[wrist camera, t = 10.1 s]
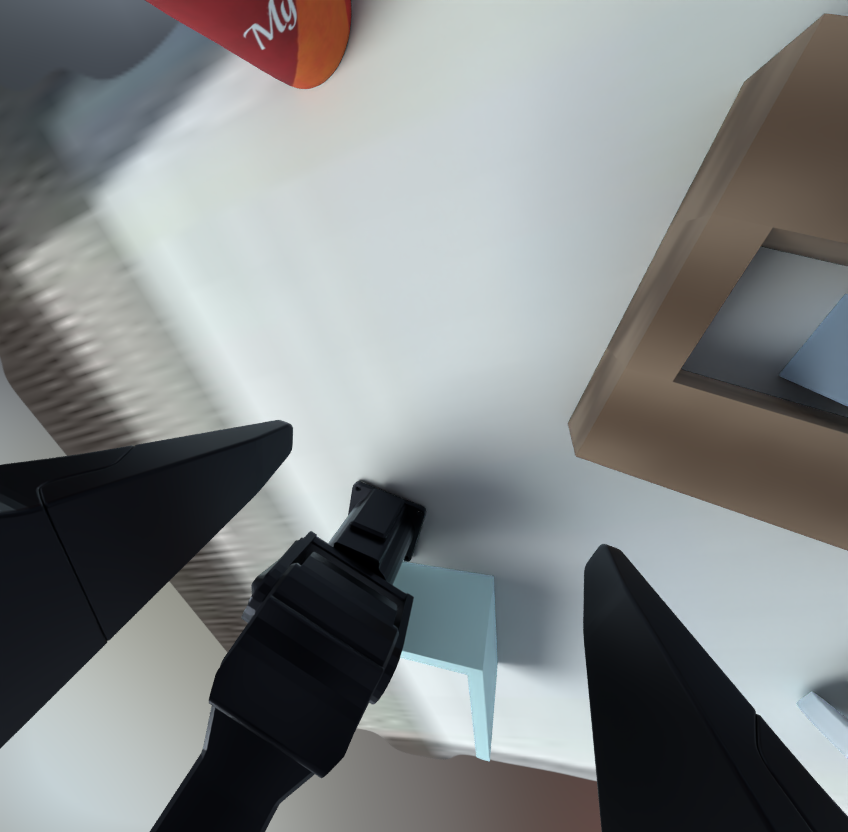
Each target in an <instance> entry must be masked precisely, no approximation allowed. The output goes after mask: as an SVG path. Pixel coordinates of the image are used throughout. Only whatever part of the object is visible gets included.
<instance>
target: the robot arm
mask: <svg viewBox="0 0 848 832" xmlns="http://www.w3.org/2000/svg"><path fill="white" fill-rule="evenodd" d="M292 444H293V427H292V425H291V424H289V423H287V422H284V421H281V420H275V421H269V422H263V423H258V424H252V425H246V426H241V427H235V428H229V429H223V430H218V431H212V432H206V433H201V434H195V435H189V436H184V437H178V438H172V439H167V440H161V441H155V442H150V443H144V444H138V445H135V446H126V447H121V448H115V449H109V450H103V451H97V452H91V453H85V454H78V455H70V456H63V457H56V458H49V459H41V460H34V461H26V462H18V463H11V464H3V465H0V748H1V747H2V746H3V745H4V744H5V743H6V742H7V741H8V740H9V739H10V738H11V737H12V736H14V734H15V733H17V731H19V730H20V729H21V728H22V727H23V726H24V725H25V724H26V723H27V722H28V721H29V720H30V719H31V718H32V717H33V716H34V715H35V714H36V713H37V712H38V711H39V710H40V709H41V708H42V707H43V706H44V705H45V704H46V703H47V702H48V701H49V700H50V699H51V698H52V697H53V696H54V695H55V694H56V693H57V692H58V691H59V690H60V689H61V688H62V687H63V686H64V685H65V684H66V683H67V682H68V681H69V680H70V679H71V678H72V677H73V676H74V675H75V674H76V673H77V672H78V671H79V670H80V669H81V668H82V667H83V666H84V665H85V664H86V663H87V662H88V661H89V660H90V659H91V658H92V657H93V656H94V655H95V654H96V653H97V652H98V651H99V650H100V649H101V648H102V647H103V646H104V645H105V644H106V643H107V641H108V640H110V639H111V638H112V637H113V636H114V635H115V634H116V633H117V632H118V631H119V630H120V629H121V628H122V627H123V626H124V625H125V624H126V623H127V622H128V621H129V620H130V619H131V618H132V617H133V616H134V615H135V614H136V613H137V612H138V611H139V610H140V609H141V608H142V607H143V606H144V605H145V604H146V603H147V602H148V601H149V600H150V599H151V598H152V597H153V596H154V595H155V594H156V593H157V592H158V591H159V590H160V589H161V588H162V587H163V586H165V585H166V583H167V582H169V581H170V580H171V579H172V578H173V577H174V576H175V575H176V574H177V573H178V572H179V571H180V570H181V569H182V568H183V567H184V566H185V565H186V564H187V563H188V562H189V561H190V560H191V559H192V558H193V557H194V556H195V555H196V554H197V553H198V552H199V551H200V550H201V549H202V548H203V547H204V546H205V545H206V544H207V543H208V542H209V541H210V540H211V539H212V538H213V537H214V536H215V535H216V534H217V533H218V532H219V531H220V530H221V529H222V528H223V527H224V526H225V525H226V524H227V523H228V522H229V521H230V520H231V519H232V518H233V517H234V516H235V515H236V514H237V513H238V512H239V511H240V510H241V509H242V508H243V507H244V506H245V505H246V504H247V503H248V502H249V501H250V500H251V499H252V498H253V497H254V496H255V495H256V494H257V493H258V492H259V491H260V490H261V488H262V487H263V486H264V485H265V484H266V482H267V481H268V480H269V479H270V478H271V476H272V475H273V474H274V473H275V471H276V470H277V469H278V468H279V467H280V465H281V464H282V463H283V462H284V461H285V459H286V458H287V457H288V456H289V454H290V453H291V450H292ZM358 487H360V488H358ZM418 511H420V512H421V513H420V512H418ZM425 515H426V509H425V508H424V507H423V506H421V505H418V504H416V503H413V502H411V501H408V500H406V499H403V498H401V497H398V496H396V495H393V494H391V493H388V492H386V491H383V490H381V489H378V488H376V487H373V486H370V485H368V484H365V483H363V482H360V481H357V482H356V483H355V484H354V485H353V488H352V494H351V501H350V507H349V513H348V517H347V518H346V519H345V521H344V522H343V524H342V525H341V526H340V528H339V529H338V531H337V532H336V533H335V535H334V536H333V537H332V539H331V540H330V542H329V543H326V542H325V541H323V540H322V539H320V538H319V537H317V535H316V534H315V533H313V532H312V531H310V532H309V533H308V534H307V535H306V536H305V537H304V538H301V539H300V540H298V541H295V542H294V543H293V545H292V546H291V547H290V548H289V549H288V550H287V552H286V553H285V554H284V555H283V556H282V557H281V558H280V559H279V560H278V561H277V562H275V563H274V564H273V565H271V566H270V567H269V568H268V569H266V570H265V571H264V572H262V573H261V574H260V575H259V576H258V577H257V578H256V579H255V580H254V582H253V583H252V596H251V598H250V600H249V602H248V605H247V607H246V609H245V611H244V613H243V615H242V619H243V620H245V621H246V622H248V624H247V626H246V627H245V629H244V630H243V631H242V633H241V634H240V636H239V637H238V639H237V640H236V641H235V643H234V644H233V646H232V647H231V649H230V650H229V652H228V653H227V654H226V656H225V657H224V659H223V661H222V663H221V666H220V668H219V669H218V671H217V673H216V675H215V679H214V682H213V686H212V689H211V693H210V697H209V704H211V705H212V708H211V712H210V718H209V722H208V727H207V731H206V737H205V741H204V746H203V750H202V753H201V754H200V756H199V757H198V759H197V760H196V762H195V764H194V765H193V767H192V768H191V770H190V771H189V773H188V774H187V776H186V777H185V779H184V780H183V782H182V783H181V785H180V787H179V788H178V789H177V791H176V792H175V794H174V796H173V797H172V799H171V800H170V802H169V803H168V805H167V806H166V808H165V809H164V811H163V812H162V814H161V816H160V817H159V818H158V820H157V821H156V823H155V825H154V826H153V828H152V829H151V831H150V832H265V831H266V829H267V827H268V825H269V823H270V821H271V819H272V817H273V815H274V813H275V811H276V810H277V808H278V806H279V804H280V803H281V802H282V801H283V800H285V799H286V798H287V797H288V796H289V795H290V794H292V793H293V792H294V791H295V790H296V789H298V788H299V787H300V786H301V785H302V784H303V783H305V782H306V781H307V780H308V779H310V778H311V777H312V776H313V775H314V774H316V775H318V776H319V777H320V778H323V777H324V776H326V775H327V774H328V773H329V772H330V771H331V770H332V769H333V768H334V767H335V766H336V765H337V764H338V763H339V761H340V760H341V759H342V758H343V757H344V755H345V753H346V751H347V749H348V746H349V744H350V742H351V739H352V737H353V734H354V732H355V730H356V728H357V726H358V724H359V722H360V720H361V718H362V716H363V714H364V712H365V710H366V708H367V706H368V703H369V702H370V703H371V704H375V703H376V702H377V701H378V700H379V699H380V697H381V696H382V694H383V693H384V691H385V689H386V688H387V686H388V684H389V682H390V680H391V678H392V676H393V674H394V672H395V669H396V667H397V664H398V662H399V659H400V656H401V653H402V650H403V646H404V642H405V637H406V632H407V628H408V623H409V618H410V614H411V609H412V604H413V599H414V597H413V596H412V595H410V594H409V593H405V592H403V591H401V590H400V589H398V588H397V587H395V586H394V585H393V583H394V581H395V578H396V576H397V574H398V571H399V569H400V567H401V564H402V562H403V560H404V561H410V560H411V558H412V556H413V553H414V549H415V546H416V543H417V540H418V537H419V534H420V531H421V527H422V524H423V521H424V518H425ZM406 555H407V556H406ZM583 633H584V646H585V657H586V668H587V679H588V689H589V700H590V711H591V721H592V732H593V743H594V754H595V764H596V775H597V786H598V797H599V807H600V818H601V827H602V832H848V816H847V815H846V814H845V813H844V812H843V811H842V810H841V808H840V807H839V806H838V805H837V804H836V803H835V802H834V801H833V800H832V798H831V797H830V796H829V795H828V794H827V793H826V792H825V791H824V789H823V788H822V787H821V786H820V785H819V784H818V783H817V782H816V781H815V779H814V778H813V777H812V776H811V775H810V774H809V772H808V771H807V770H806V769H805V768H804V767H803V765H802V764H801V763H800V762H799V761H798V760H797V758H796V757H795V756H794V755H793V754H792V753H791V751H790V750H789V749H788V748H787V747H786V746H785V745H784V743H783V742H782V741H781V740H780V739H779V737H778V736H777V735H776V734H775V733H774V732H773V730H772V729H771V728H770V727H769V726H768V724H767V723H766V722H765V721H764V720H763V718H762V717H761V716H760V715H758V714H756V711H755V709H754V708H753V707H752V705H751V704H750V703H749V702H748V701H747V700H746V698H745V697H744V696H743V695H742V694H741V692H740V691H739V690H738V689H737V688H736V686H735V685H734V684H733V683H732V682H731V681H730V679H729V678H728V677H727V676H726V675H725V673H724V672H723V671H722V670H721V669H720V667H719V666H718V665H717V664H716V663H715V662H714V660H713V659H712V658H711V657H710V656H709V654H708V653H707V652H706V651H705V650H704V649H703V647H702V646H701V645H700V644H699V643H698V641H697V640H696V639H695V638H694V637H693V635H692V634H691V633H690V632H689V631H688V630H687V628H686V627H685V626H684V625H683V624H682V622H681V621H680V620H679V619H678V618H677V616H676V615H675V614H674V613H673V612H672V611H671V609H670V608H669V607H668V606H667V605H666V603H665V602H664V601H663V600H662V599H661V597H660V596H659V595H658V594H657V593H656V592H655V590H654V589H653V588H652V587H651V586H650V584H649V583H648V582H647V581H646V580H645V578H644V577H643V576H642V575H641V574H640V573H639V571H638V570H637V569H636V568H635V567H634V565H633V564H632V563H631V562H630V561H629V559H628V558H627V557H626V556H625V555H624V554H623V552H622V551H621V550H619V549H617V548H615V547H612V546H609V545H607V544H602V545H600V546H599V547H598V549H597V550H596V551H595V553H594V554H593V555H592V557H591V558H590V560H589V561H588V562H587V564H586V566H585V570H584V611H583Z"/></svg>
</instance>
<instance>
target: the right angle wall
mask: <svg viewBox="0 0 848 832" xmlns="http://www.w3.org/2000/svg"><path fill="white" fill-rule="evenodd" d="M393 585H394V586H395V587H397V588H398V589H400V590H401V591H403V592H405V593H409V594H410V595H412V596H413V597H414V599H413V604H412V609H411V614H410V618H409V623H408V628H407V632H406V637H405V642H404V646H403V650H402V653H401V656H400V658H404V659H408V660H412V661H416V662H419V663H423V664H427V665H431V666H435V667H439V668H443V669H447V670H451V671H454V672H458V673H462V674H466V675H468V684H469V693H470V702H471V711H472V720H473V729H474V739H475V748H476V757H477V758H480V759H483V760H486V761H489V762H490V752H491V739H492V727H493V714H494V702H495V690H496V677H497V665H498V658H497V637H496V615H495V594H494V576H491V575H485V574H478V573H472V572H466V571H460V570H453V569H447V568H441V567H434V566H428V565H422V564H415V563H409V562H402V564H401V567H400V569H399V571H398V574H397V576H396V578H395V581H394V583H393Z"/></svg>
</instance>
